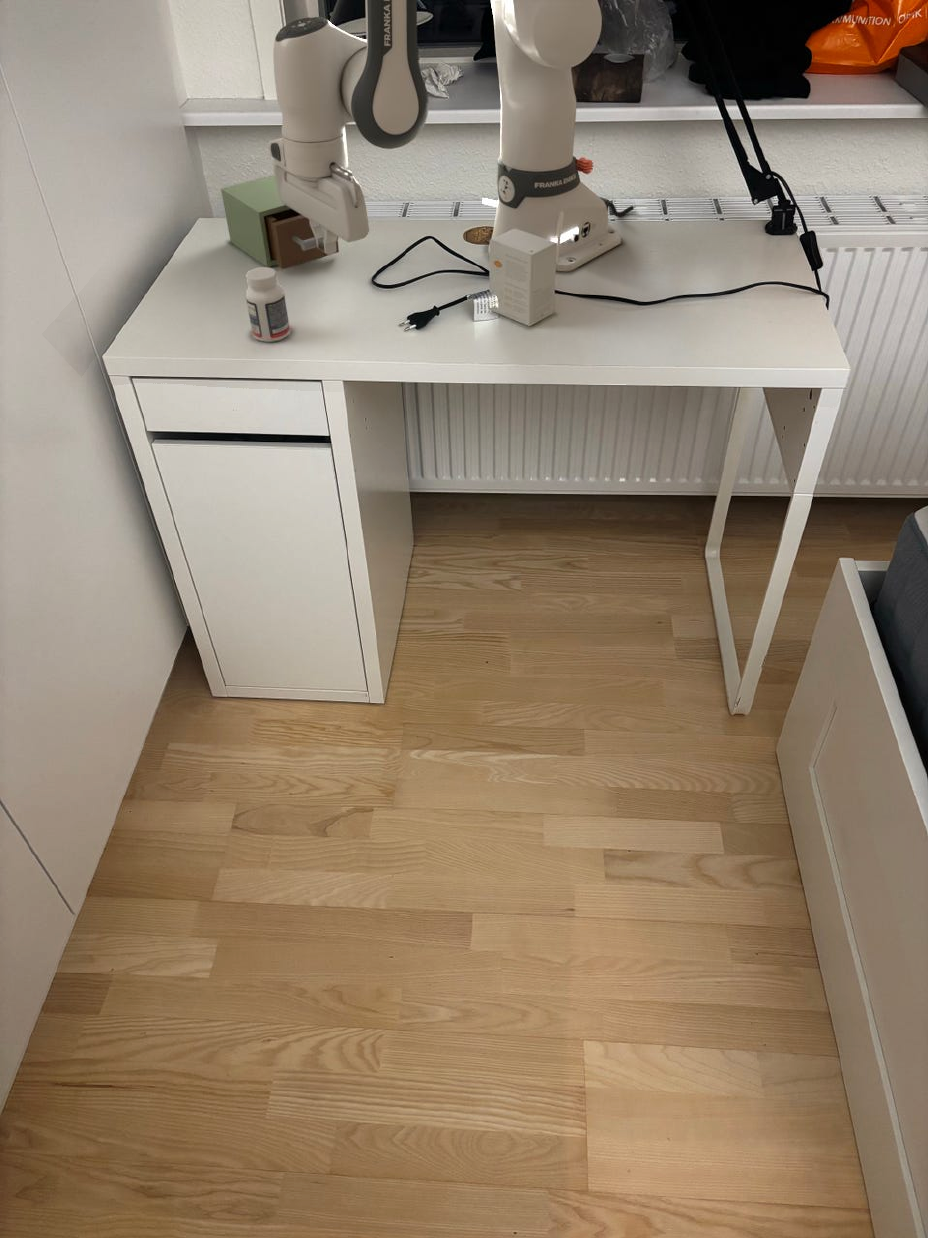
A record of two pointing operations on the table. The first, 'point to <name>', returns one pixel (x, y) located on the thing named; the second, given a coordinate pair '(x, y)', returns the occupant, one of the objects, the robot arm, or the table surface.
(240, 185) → the cabinet
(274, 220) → the drawer
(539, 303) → the small box
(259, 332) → the pill bottle
